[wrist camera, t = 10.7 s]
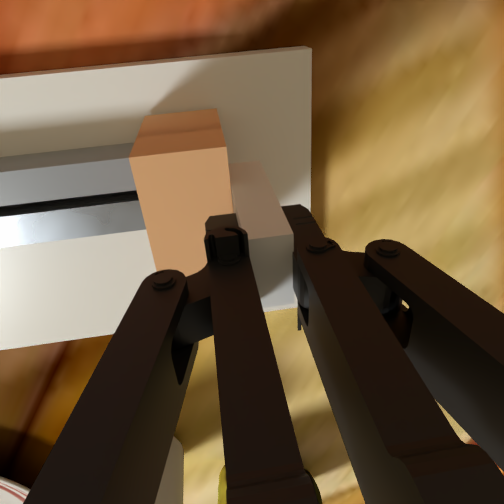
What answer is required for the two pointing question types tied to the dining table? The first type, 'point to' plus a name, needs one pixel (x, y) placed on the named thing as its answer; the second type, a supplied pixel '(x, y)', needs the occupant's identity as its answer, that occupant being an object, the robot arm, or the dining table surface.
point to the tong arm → (70, 218)
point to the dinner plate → (12, 492)
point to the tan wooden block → (181, 184)
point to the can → (172, 476)
